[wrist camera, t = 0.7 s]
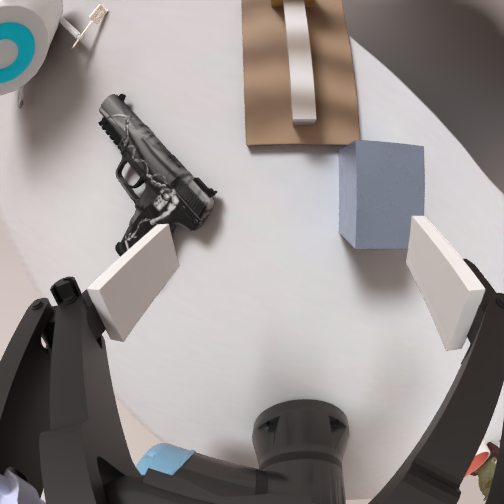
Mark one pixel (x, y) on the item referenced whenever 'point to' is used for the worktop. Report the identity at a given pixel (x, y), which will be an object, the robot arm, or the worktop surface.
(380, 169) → the slate grey block
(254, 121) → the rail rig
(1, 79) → the satellite
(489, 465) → the sculpture
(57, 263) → the worktop surface
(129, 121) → the handgun
